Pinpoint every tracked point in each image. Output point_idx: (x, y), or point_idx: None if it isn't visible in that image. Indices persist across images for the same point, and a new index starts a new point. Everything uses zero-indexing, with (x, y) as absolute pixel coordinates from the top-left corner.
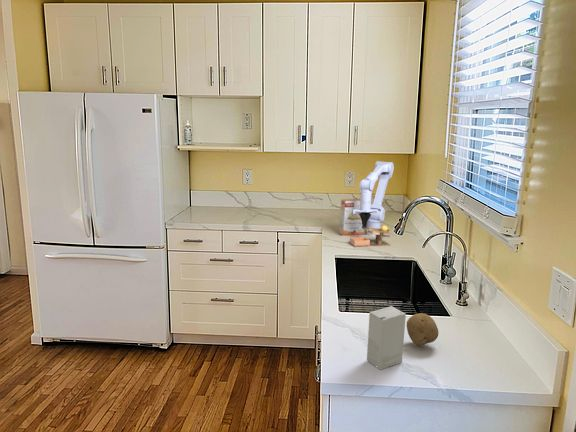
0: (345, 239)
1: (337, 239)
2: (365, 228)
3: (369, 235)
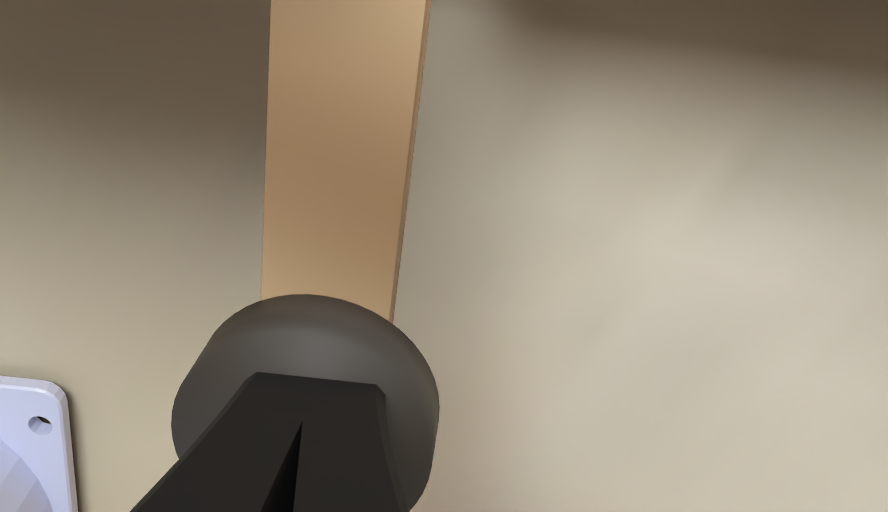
0: (702, 433)
1: (877, 471)
2: (314, 288)
3: (23, 487)
